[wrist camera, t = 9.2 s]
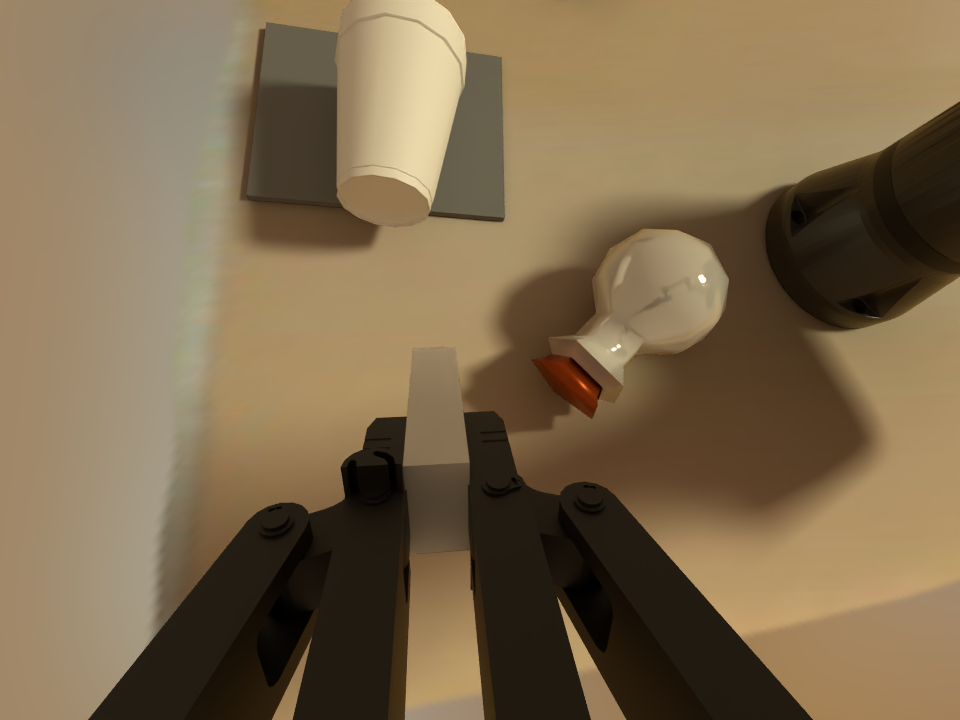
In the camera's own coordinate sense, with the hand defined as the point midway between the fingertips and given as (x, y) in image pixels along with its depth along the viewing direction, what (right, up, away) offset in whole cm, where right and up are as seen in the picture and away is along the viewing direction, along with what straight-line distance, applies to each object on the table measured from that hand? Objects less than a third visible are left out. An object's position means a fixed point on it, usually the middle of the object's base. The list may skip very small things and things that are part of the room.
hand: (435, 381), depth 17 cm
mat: (-6, +21, +22) cm, 31 cm away
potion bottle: (+12, +3, +22) cm, 25 cm away
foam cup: (-5, +11, +15) cm, 19 cm away
